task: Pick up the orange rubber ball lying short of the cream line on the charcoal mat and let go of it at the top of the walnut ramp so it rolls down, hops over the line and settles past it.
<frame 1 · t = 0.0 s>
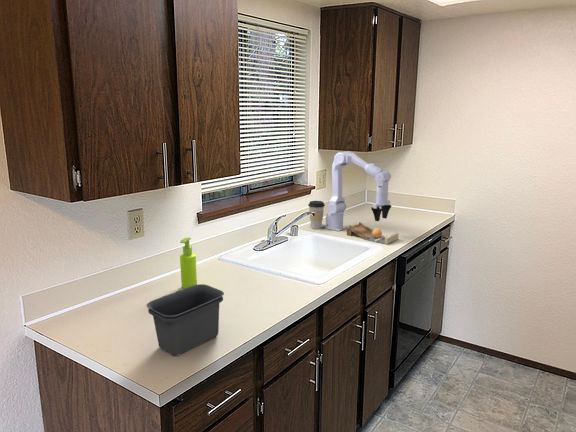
hand: (380, 219, 244), 10 cm above the worktop, tool pointing down, fingers open, 7 cm apart
storage bin: (186, 341, 142), on the worktop
soap dispenser: (188, 288, 182), on the worktop
ramp: (363, 235, 251), on the worktop
ball: (377, 233, 245), point 3 cm above the worktop, touching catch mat
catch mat: (380, 239, 244), on the worktop
coffee cup: (316, 228, 267), on the worktop
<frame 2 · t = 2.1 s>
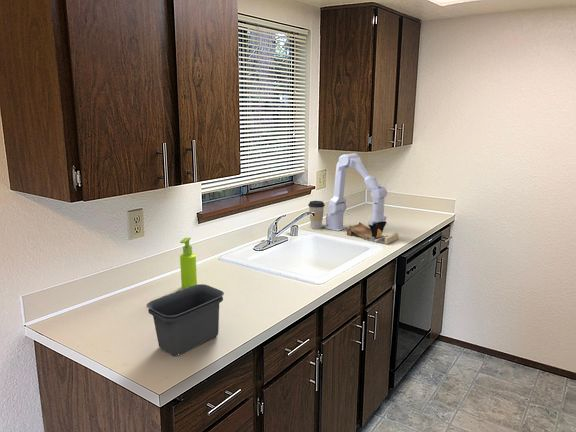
hand: (376, 235, 245), 2 cm above the worktop, tool pointing down, fingers closed on ball, 5 cm apart
ball: (377, 233, 245), point 3 cm above the worktop, touching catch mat, gripper
everything else where it was.
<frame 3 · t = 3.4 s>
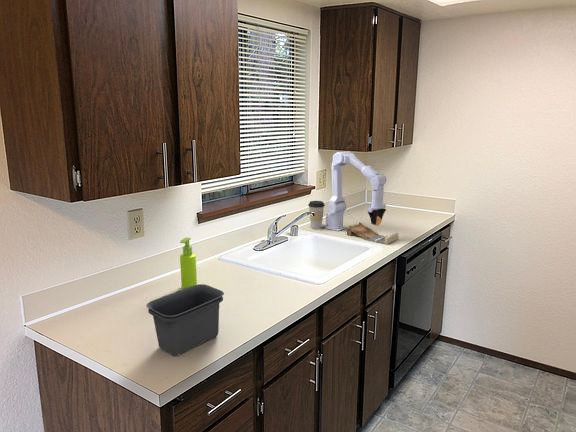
hand: (376, 223, 244), 8 cm above the worktop, tool pointing down, fingers closed on ball, 5 cm apart
ball: (376, 220, 244), point 10 cm above the worktop, touching gripper
everything else where it was.
when the fingers open (7 cm above the worktop, at t = 5.0 s): ball drops 5 cm and tips over, resting on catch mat.
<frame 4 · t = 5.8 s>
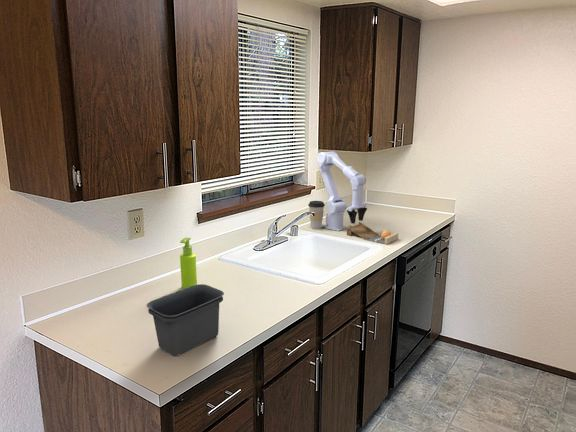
hand: (356, 221, 252), 7 cm above the worktop, tool pointing down, fingers open, 7 cm apart
ball: (386, 235, 242), point 3 cm above the worktop, tilted 105°, touching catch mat
everything else where it was.
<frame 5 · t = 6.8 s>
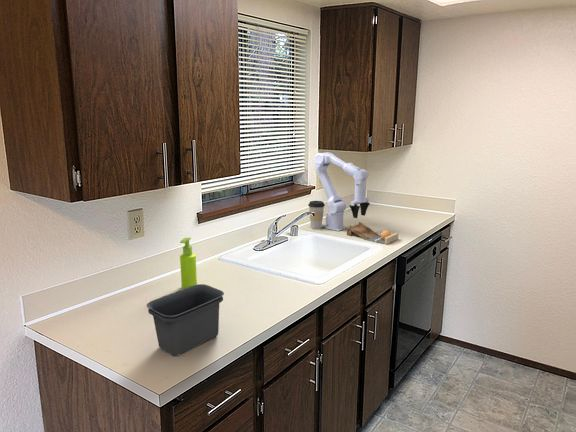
hand: (359, 216, 254), 9 cm above the worktop, tool pointing down, fingers open, 7 cm apart
nothing on the worktop moved.
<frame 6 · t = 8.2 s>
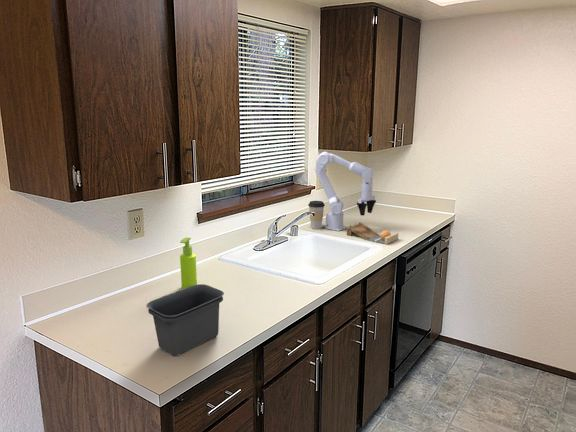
hand: (365, 214, 259), 9 cm above the worktop, tool pointing down, fingers open, 7 cm apart
nothing on the worktop moved.
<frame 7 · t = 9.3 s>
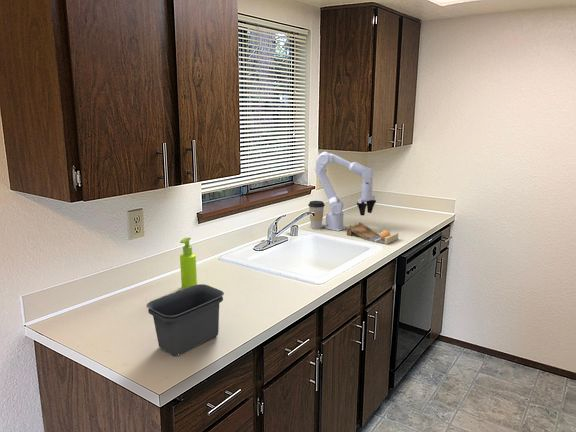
hand: (365, 214, 259), 9 cm above the worktop, tool pointing down, fingers open, 7 cm apart
nothing on the worktop moved.
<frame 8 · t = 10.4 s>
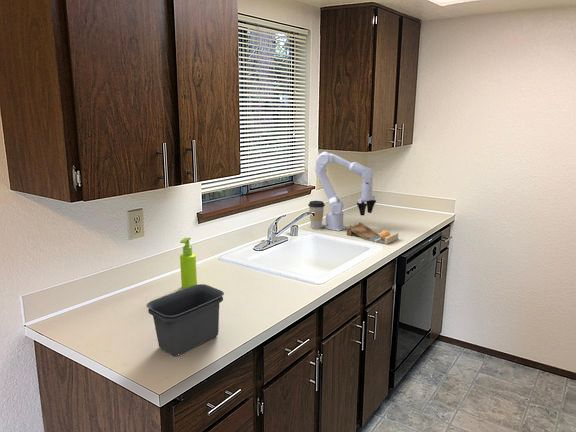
hand: (365, 214, 259), 9 cm above the worktop, tool pointing down, fingers open, 7 cm apart
nothing on the worktop moved.
at the end: ball inside the target area (1.2 cm from its centre), point 2.9 cm above the worktop; the gripper is holding nothing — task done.
